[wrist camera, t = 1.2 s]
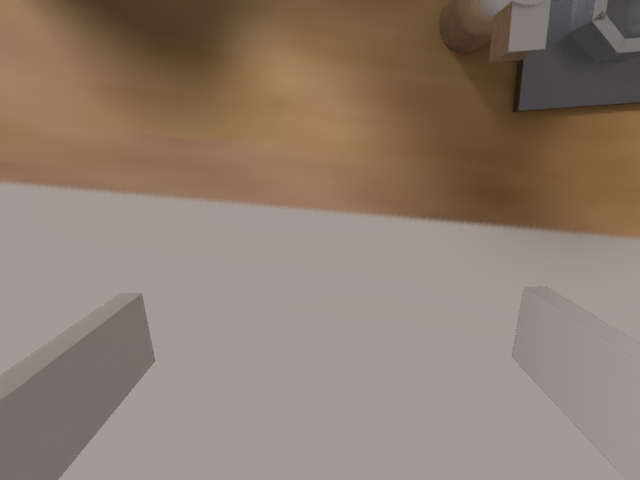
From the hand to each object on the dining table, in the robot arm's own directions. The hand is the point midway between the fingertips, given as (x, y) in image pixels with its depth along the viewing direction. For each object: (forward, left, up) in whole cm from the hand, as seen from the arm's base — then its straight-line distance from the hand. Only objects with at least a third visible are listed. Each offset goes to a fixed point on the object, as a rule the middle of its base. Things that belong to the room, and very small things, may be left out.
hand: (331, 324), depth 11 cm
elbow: (-15, +14, -23) cm, 31 cm away
